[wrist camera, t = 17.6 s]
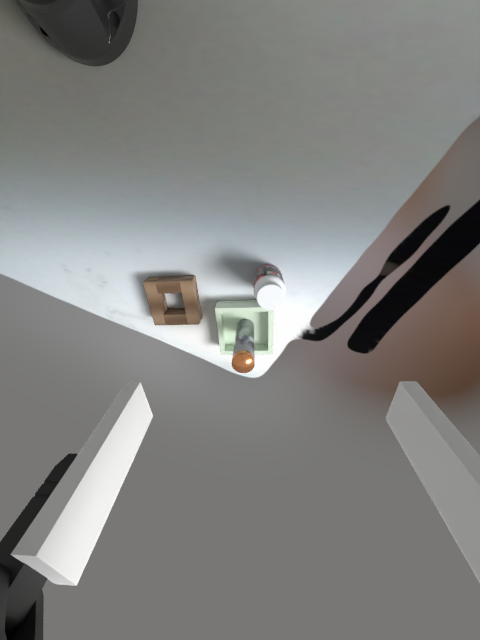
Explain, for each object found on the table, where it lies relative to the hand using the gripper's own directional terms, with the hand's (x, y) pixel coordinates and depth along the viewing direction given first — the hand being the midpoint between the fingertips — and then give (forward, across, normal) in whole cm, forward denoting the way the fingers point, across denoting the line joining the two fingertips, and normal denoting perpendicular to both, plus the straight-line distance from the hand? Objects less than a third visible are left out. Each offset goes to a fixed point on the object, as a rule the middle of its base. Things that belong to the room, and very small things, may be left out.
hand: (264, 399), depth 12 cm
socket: (+37, -18, -10) cm, 42 cm away
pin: (+36, -3, -17) cm, 40 cm away
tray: (+37, -3, -17) cm, 41 cm away
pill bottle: (+37, +2, -6) cm, 37 cm away
